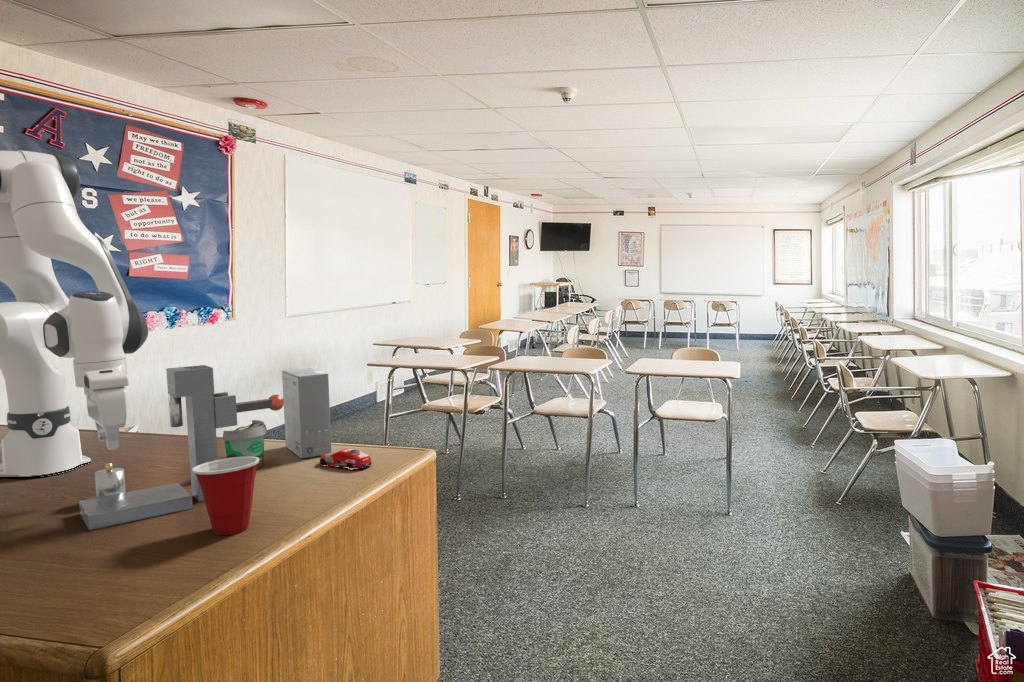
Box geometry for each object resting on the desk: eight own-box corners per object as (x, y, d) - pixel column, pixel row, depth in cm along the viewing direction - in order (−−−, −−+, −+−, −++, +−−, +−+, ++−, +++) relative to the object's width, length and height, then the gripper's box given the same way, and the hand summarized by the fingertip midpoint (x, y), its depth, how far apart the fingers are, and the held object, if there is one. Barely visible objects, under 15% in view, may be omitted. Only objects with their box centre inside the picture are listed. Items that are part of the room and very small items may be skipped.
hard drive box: (332, 454, 170) (329, 373, 168) (301, 459, 166) (297, 376, 164) (314, 442, 183) (310, 366, 181) (284, 446, 179) (280, 369, 177)
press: (80, 514, 131) (68, 376, 128) (229, 484, 147) (221, 362, 145) (89, 530, 122) (77, 383, 120) (246, 497, 139) (238, 367, 136)
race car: (315, 466, 161) (314, 449, 161) (331, 460, 166) (331, 444, 166) (358, 473, 155) (358, 455, 155) (375, 467, 160) (374, 449, 159)
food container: (249, 477, 153) (247, 432, 152) (224, 475, 154) (221, 431, 153) (279, 461, 165) (277, 420, 164) (255, 460, 166) (253, 419, 165)
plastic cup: (235, 514, 129) (232, 450, 128) (276, 524, 123) (272, 457, 122) (182, 534, 120) (177, 465, 118) (223, 545, 114) (219, 473, 113)
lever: (212, 417, 141) (211, 401, 141) (281, 408, 150) (280, 392, 150) (217, 420, 139) (216, 403, 138) (287, 410, 147) (286, 394, 147)
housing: (95, 500, 139) (92, 463, 138) (123, 495, 142) (120, 458, 141) (99, 506, 135) (96, 468, 134) (128, 501, 138) (125, 463, 137)
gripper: (75, 372, 142) (82, 439, 143) (90, 382, 126) (98, 457, 127) (110, 369, 146) (117, 434, 147) (130, 377, 130) (137, 450, 131)
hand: (108, 445), depth 137 cm, fingers open, 8 cm apart
